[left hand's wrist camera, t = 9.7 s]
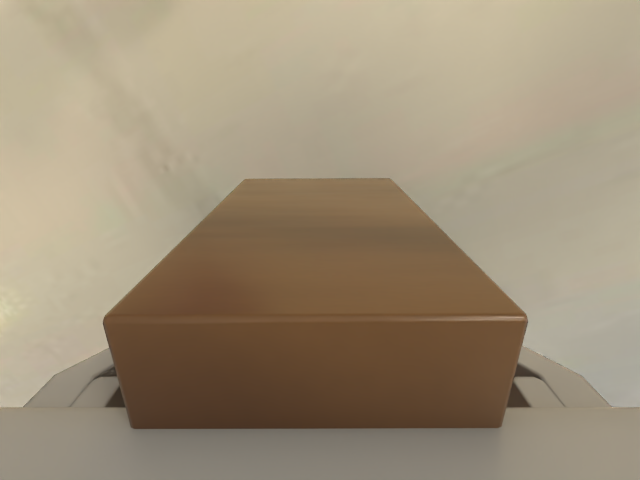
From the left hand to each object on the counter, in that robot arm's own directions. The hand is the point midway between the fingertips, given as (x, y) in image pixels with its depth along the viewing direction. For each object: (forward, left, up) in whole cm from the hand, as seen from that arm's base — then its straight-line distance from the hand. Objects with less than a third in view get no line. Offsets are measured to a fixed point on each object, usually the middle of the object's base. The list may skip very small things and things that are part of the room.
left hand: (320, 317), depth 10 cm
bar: (+10, -1, -3) cm, 11 cm away
